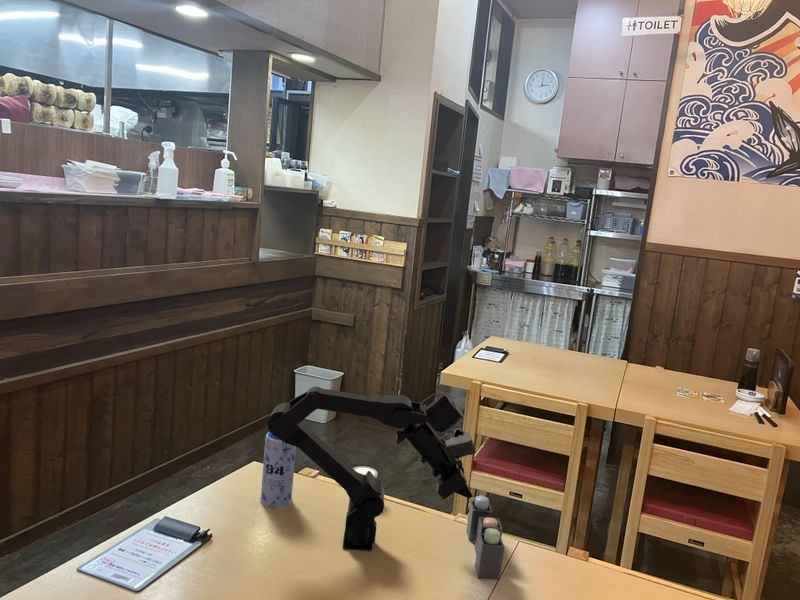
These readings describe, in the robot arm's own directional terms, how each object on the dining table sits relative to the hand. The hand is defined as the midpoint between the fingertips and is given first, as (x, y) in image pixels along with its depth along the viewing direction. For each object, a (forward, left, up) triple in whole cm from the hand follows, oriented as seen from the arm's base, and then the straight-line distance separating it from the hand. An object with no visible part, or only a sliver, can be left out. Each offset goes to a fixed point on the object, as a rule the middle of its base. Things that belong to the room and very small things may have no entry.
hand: (471, 496), depth 141 cm
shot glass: (-24, +22, -13) cm, 35 cm away
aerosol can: (-45, +16, -13) cm, 49 cm away
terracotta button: (+5, 0, -8) cm, 9 cm away
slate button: (+4, +8, -6) cm, 11 cm away
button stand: (+5, 0, -13) cm, 14 cm away
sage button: (+4, -8, -6) cm, 11 cm away
